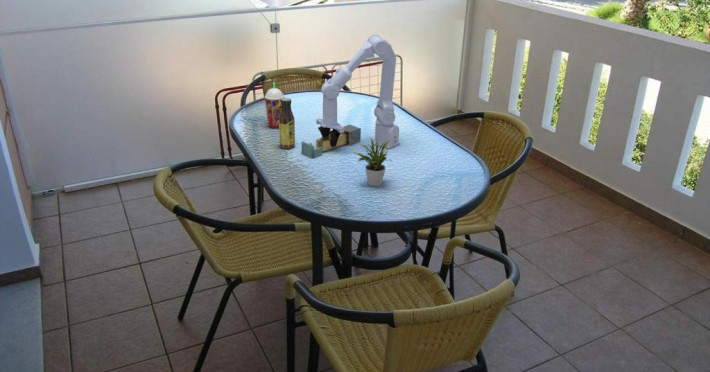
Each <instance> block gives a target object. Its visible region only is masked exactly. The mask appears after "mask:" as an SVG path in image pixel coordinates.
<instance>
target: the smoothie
mask: <svg viewBox="0 0 710 372" xmlns="http://www.w3.org/2000/svg"><path fill="white" fill-rule="evenodd" d="M272 85H273V86H272V87H271V88H269V89H268V90H267V92H266V94H265V95H264V101H265V109H266V110H265V111H266V118H267V120H266V121H267V124H268V126H269V128H272V129H279V115H280V113H281V111H282V103H281V99H283V98H285V95H284V94H283V92H282V90H281V89H279V88H277V87H275V86H276V83H275V81H273V82H272Z"/></svg>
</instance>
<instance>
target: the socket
mask: <svg viewBox="0 0 710 372" xmlns="http://www.w3.org/2000/svg"><path fill="white" fill-rule="evenodd" d="M301 154H302V155H304V156H306V157H308V158H311V159H315V158H317V157H321V156H322V155H323V151H322V147H320V148H317V149H316V148H315V145H313V143H311V142H309V143H308V142H306V141H301Z"/></svg>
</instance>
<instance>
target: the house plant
mask: <svg viewBox="0 0 710 372" xmlns="http://www.w3.org/2000/svg"><path fill="white" fill-rule="evenodd" d="M369 139H370V144H371V145H370V144H369V143H366V144H367V145H368V146H369V147H370V149H369V147H368V146H367V145H365V144H363V143H360V142H358V143H357V144H359V145H360V146H362V147H364V148H365V149H364V150H365V151H366V155H365V154H363V153H360V152H355V151H354V152H353V153H354V154H355V155H357V156H360V157H358V159H357V161H356V162H357V163H358V162H360V161H361V162H362V161H365V162H366V163H368V164H366V165H365V175H366V180H367V185H369V186H371V187H380V186H382V184H383V180H384V176H385V173H386V166H385V165H384V164H383V163H384V162H385V161H388V159H387V158H388V157H386V156H387V153H388V152H389V149H388V148H387V147H388V145H389V144H388V143H389V141H391V140H392V139H391V140H388V141H387V142H385V144H384V143H383V144H384V145H383V144H382V145H383V147H382V145H381V146H378V142H377V143H376V142H375V144H376V145H374V142H373V141H374V140H373V139H372V137H369ZM387 144H388V145H387ZM386 145H387V147H386ZM385 147H386V148H385ZM389 161H390V162H393V160H392V159H389Z"/></svg>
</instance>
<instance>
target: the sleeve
mask: <svg viewBox="0 0 710 372" xmlns="http://www.w3.org/2000/svg"><path fill="white" fill-rule="evenodd" d="M343 127H344V131H345V132H347V133H349V135H348V143H346V144H345V145H346V146H347V145H348V146H351V145H355V144H358V143H360V142H361V141H362V140H361V138H362V129H361V127H358V126H356V125H352V124H347V125H345V126H343Z"/></svg>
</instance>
